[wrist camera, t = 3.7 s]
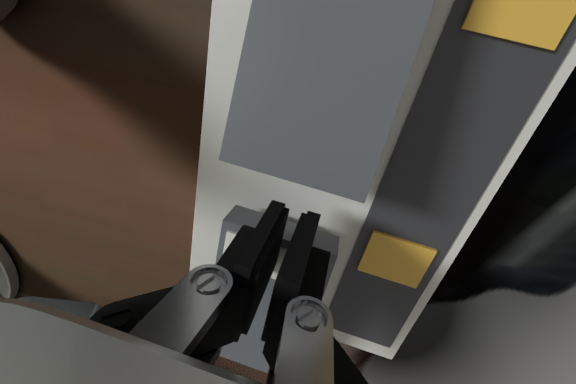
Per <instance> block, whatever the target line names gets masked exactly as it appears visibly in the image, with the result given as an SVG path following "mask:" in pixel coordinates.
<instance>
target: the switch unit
mask: <svg viewBox="0 0 576 384" xmlns="http://www.w3.org/2000/svg"><path fill="white" fill-rule="evenodd" d="M251 3H252V0H212V10H211V22H210V34H209V46H208V58H207V70H206V82H205V94H204V105H203V117H202V129H201V141H200V153H199V165H198V177H197V189H196V201H195V213H194V225H193V237H192V249H191V261H190V271H191V270H192V269H194V268H195V267H198V266H200V265H205V264H215V262H216V256H217V250H218V244H219V239H220V233H221V227H222V221H223V219H224V218H225V217H226V215H227V214H228V213H229V212H230V211H231V210H232V209H233V207H234V206H235V205H239V206H242V207H245V208H249V209H252V210H255V211H258V212H262V213H265V211H266V209H267V208H268V206H269V204H270V203H271V201H272V200H275V201H278V202H282V203H285V204H286V205H285V207H286V208H289V214H288V218H287V221H291V222H294V223H298V221H299V218H300V216H301V213H305V214H307V212H308V211H311V212H314V213H318V214H321V216H320V220H319V224H318V227H317V230H320V231H323V232H326V233H329V234H333V235H336V236H339V248H338V257H337V260H336V262H335V265H334V268H333V271H332V273H331V276H330V279H329V282H328V284H327V287H326V290H325V292H324V295H323V298H322V302H323V303H324V304H325V305H326V306H327V307H328V308H329V310H330V311H331V313H332V317H333V336H334V337H335V339H336V340H337V341H338V342H341V343H344V344H347V345H350V346H353V347H356V348H359V349H362V350H365V351H368V352H371V353H374V354H377V355H380V356H383V357H385V358H389V359H392V358H393V357H394V355H395V354H396V352H397V350H398V349H399V347H400V346H401V344H402V342H403V341H404V339H405V338H406V336H407V334H408V333H409V331H410V330H411V328H412V326H413V325H414V323H415V321H416V320H417V318H418V317H419V315H420V314H421V312H422V310H423V309H424V307H425V306H426V304H427V302H428V301H429V299H430V298H431V296H432V294H433V293H434V291H435V290H436V288H437V286H438V285H439V283H440V282H441V280H442V278H443V277H444V275H445V274H446V272H447V270H448V269H449V267H450V266H451V264H452V262H453V261H454V259H455V258H456V256H457V254H458V253H459V251H460V250H461V248H462V246H463V245H464V243H465V242H466V240H467V238H468V237H469V235H470V234H471V232H472V230H473V229H474V227H475V226H476V224H477V222H478V221H479V219H480V218H481V216H482V214H483V213H484V211H485V210H486V208H487V207H488V205H489V203H490V202H491V200H492V199H493V197H494V195H495V194H496V192H497V191H498V189H499V187H500V186H501V184H502V183H503V181H504V179H505V178H506V176H507V175H508V173H509V171H510V170H511V168H512V167H513V165H514V163H515V162H516V160H517V159H518V157H519V155H520V154H521V152H522V151H523V149H524V147H525V146H526V144H527V143H528V141H529V139H530V138H531V136H532V135H533V133H534V131H535V130H536V128H537V127H538V125H539V123H540V122H541V120H542V119H543V117H544V115H545V114H546V112H547V111H548V109H549V107H550V106H551V104H552V103H553V101H554V99H555V98H556V96H557V95H558V93H559V91H560V90H561V88H562V87H563V85H564V83H565V82H566V80H567V79H568V77H569V75H570V74H571V72H572V71H573V69H574V67H575V66H576V0H435V1H434V4H433V7H432V10H431V13H430V16H429V19H428V21H427V24H426V27H425V30H424V33H423V36H422V39H421V42H420V45H419V48H418V50H417V53H416V56H415V59H414V62H413V65H412V68H411V71H410V74H409V76H408V79H407V82H406V85H405V88H404V91H403V94H402V97H401V100H400V102H399V105H398V108H397V111H396V114H395V117H394V120H393V123H392V126H391V128H390V131H389V134H388V137H387V140H386V143H385V146H384V149H383V152H382V154H381V157H380V160H379V163H378V166H377V169H376V172H375V175H374V178H373V181H372V183H371V186H370V189H369V192H368V195H367V198H366V201H365V204H364V203H361V202H358V201H354V200H351V199H348V198H344V197H341V196H338V195H334V194H331V193H327V192H324V191H321V190H317V189H314V188H311V187H307V186H304V185H301V184H297V183H294V182H290V181H287V180H284V179H280V178H277V177H274V176H270V175H267V174H264V173H260V172H257V171H254V170H250V169H247V168H243V167H240V166H237V165H233V164H230V163H227V162H223V161H220V160H219V156H220V151H221V146H222V141H223V137H224V132H225V127H226V122H227V118H228V113H229V108H230V103H231V99H232V94H233V89H234V84H235V79H236V75H237V70H238V65H239V60H240V56H241V51H242V46H243V41H244V37H245V32H246V27H247V22H248V18H249V13H250V8H251Z"/></svg>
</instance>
